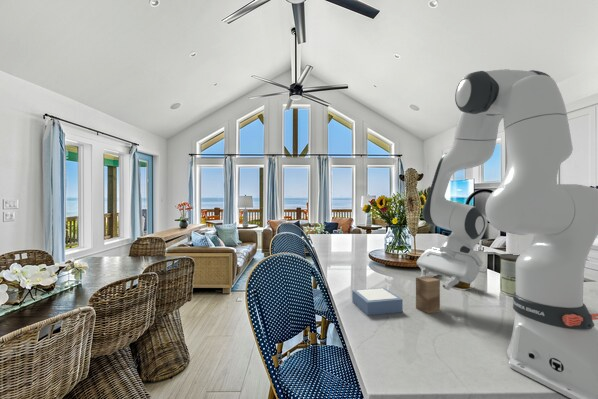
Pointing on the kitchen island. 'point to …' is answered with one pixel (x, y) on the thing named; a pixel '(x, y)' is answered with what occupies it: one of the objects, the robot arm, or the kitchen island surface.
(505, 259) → the coffee can
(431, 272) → the white rounded piece
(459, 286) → the condiment
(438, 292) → the walnut block
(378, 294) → the pedestal
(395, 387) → the kitchen island surface
